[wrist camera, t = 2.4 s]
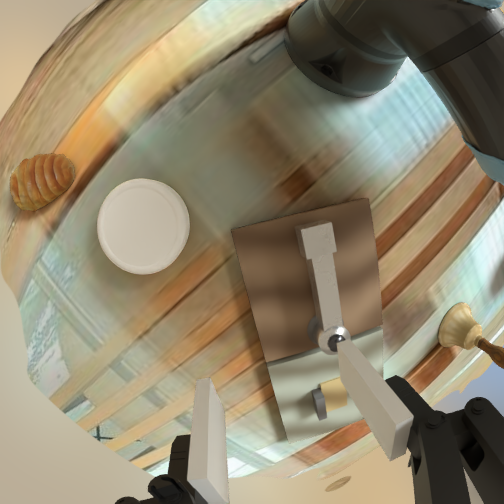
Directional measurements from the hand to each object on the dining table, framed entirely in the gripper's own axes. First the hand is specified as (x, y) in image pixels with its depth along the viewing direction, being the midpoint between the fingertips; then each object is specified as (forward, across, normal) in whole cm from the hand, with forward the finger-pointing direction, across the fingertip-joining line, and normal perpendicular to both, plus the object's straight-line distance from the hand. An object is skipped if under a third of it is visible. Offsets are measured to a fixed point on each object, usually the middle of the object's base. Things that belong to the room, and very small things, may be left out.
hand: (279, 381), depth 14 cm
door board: (+19, +8, -11) cm, 23 cm away
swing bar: (+17, +8, -2) cm, 19 cm away
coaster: (+20, -10, +9) cm, 24 cm away
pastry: (+20, -22, +19) cm, 35 cm away
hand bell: (+19, +32, -18) cm, 41 cm away
